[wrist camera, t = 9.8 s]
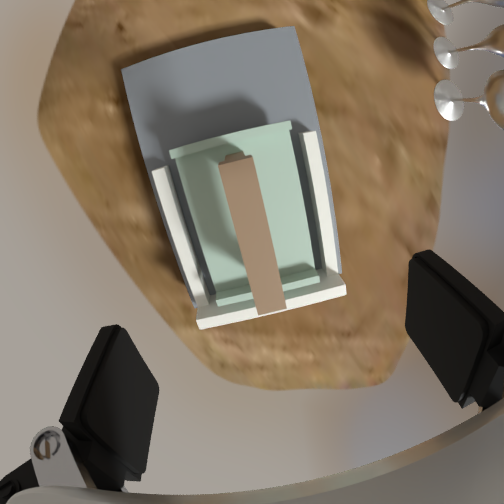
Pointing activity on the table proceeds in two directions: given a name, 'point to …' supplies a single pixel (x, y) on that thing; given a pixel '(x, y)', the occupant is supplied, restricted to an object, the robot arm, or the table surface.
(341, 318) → the table surface
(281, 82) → the dock
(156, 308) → the table surface
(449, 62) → the goblet set
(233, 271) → the mint green tray
